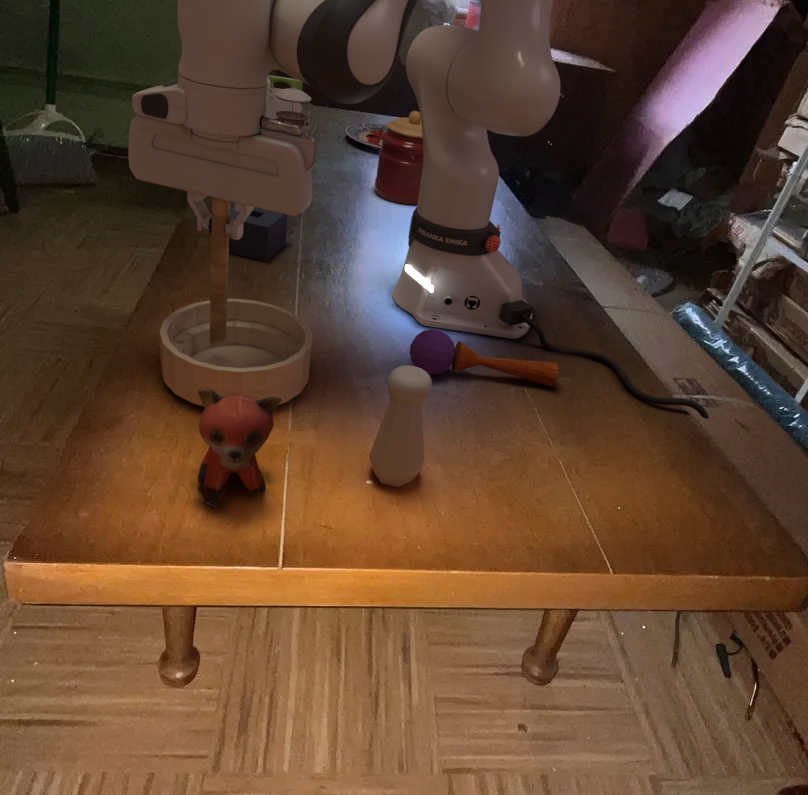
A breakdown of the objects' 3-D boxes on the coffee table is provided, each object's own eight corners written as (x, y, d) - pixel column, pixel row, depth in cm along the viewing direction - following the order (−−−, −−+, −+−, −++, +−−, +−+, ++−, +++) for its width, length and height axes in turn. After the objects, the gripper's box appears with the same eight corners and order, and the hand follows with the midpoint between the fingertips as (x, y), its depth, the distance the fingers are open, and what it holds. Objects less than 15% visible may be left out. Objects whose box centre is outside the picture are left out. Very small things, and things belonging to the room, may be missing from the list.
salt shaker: (419, 460, 82) (439, 361, 74) (421, 494, 77) (443, 391, 70) (367, 455, 81) (382, 354, 74) (366, 489, 76) (383, 385, 69)
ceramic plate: (334, 128, 199) (335, 117, 198) (422, 135, 208) (424, 124, 206) (358, 157, 179) (359, 144, 178) (454, 163, 188) (456, 151, 186)
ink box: (301, 133, 189) (305, 76, 182) (299, 139, 185) (304, 80, 177) (260, 128, 188) (263, 70, 180) (258, 133, 183) (260, 74, 176)
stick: (228, 341, 92) (234, 166, 80) (221, 348, 90) (226, 170, 78) (213, 337, 92) (216, 162, 80) (206, 344, 90) (208, 166, 78)
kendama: (565, 373, 95) (415, 345, 92) (548, 405, 99) (405, 379, 96) (558, 344, 99) (416, 316, 96) (543, 375, 103) (405, 349, 100)
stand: (285, 244, 127) (287, 211, 124) (266, 262, 120) (268, 227, 116) (239, 233, 128) (240, 200, 125) (217, 250, 121) (218, 215, 117)
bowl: (326, 358, 97) (330, 318, 94) (277, 430, 82) (280, 386, 79) (202, 327, 99) (202, 287, 96) (133, 392, 84) (130, 347, 81)
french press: (259, 153, 169) (264, 35, 156) (300, 150, 177) (308, 37, 163) (283, 166, 164) (290, 45, 150) (324, 162, 171) (335, 46, 158)
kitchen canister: (441, 206, 157) (457, 121, 148) (385, 205, 152) (398, 117, 143) (418, 185, 167) (431, 105, 157) (365, 184, 162) (375, 101, 152)
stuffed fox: (272, 443, 80) (278, 349, 74) (276, 514, 71) (283, 414, 64) (200, 443, 78) (200, 346, 72) (195, 515, 69) (195, 412, 63)
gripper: (326, 123, 77) (315, 245, 85) (148, 84, 80) (152, 206, 87) (307, 134, 72) (296, 264, 80) (117, 92, 74) (123, 222, 82)
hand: (219, 234), depth 83 cm, fingers closed on stick, 2 cm apart
